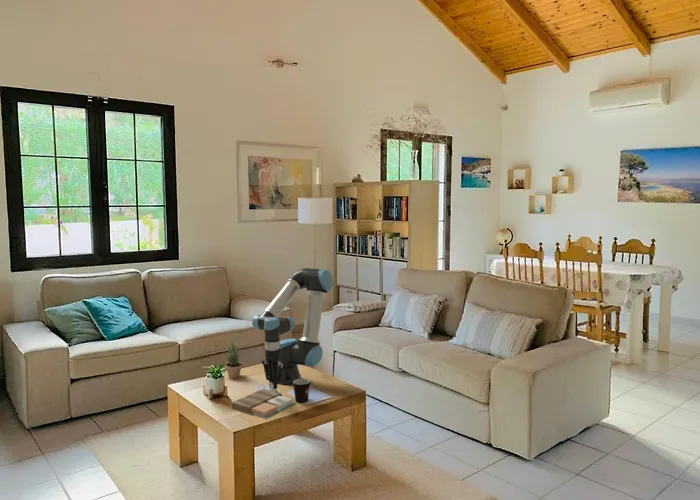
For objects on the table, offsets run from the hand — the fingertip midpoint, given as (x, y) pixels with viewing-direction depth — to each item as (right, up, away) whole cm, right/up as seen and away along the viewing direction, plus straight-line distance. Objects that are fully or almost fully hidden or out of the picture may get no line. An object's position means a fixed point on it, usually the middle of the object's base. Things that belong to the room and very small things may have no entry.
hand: (273, 394), depth 274 cm
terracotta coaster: (-3, -5, -11) cm, 13 cm away
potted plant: (-28, -1, +41) cm, 50 cm away
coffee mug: (+15, -4, +4) cm, 16 cm away
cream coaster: (+3, -4, -2) cm, 6 cm away
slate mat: (+1, -5, -7) cm, 9 cm away
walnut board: (-8, -5, 0) cm, 10 cm away
